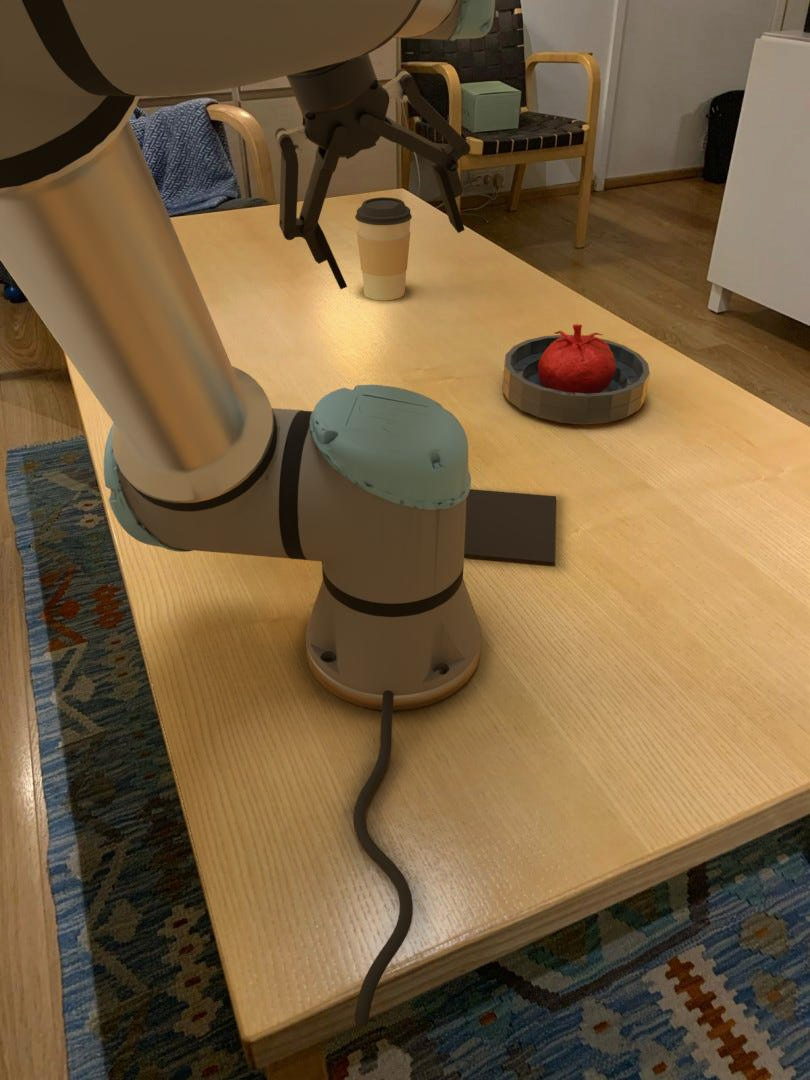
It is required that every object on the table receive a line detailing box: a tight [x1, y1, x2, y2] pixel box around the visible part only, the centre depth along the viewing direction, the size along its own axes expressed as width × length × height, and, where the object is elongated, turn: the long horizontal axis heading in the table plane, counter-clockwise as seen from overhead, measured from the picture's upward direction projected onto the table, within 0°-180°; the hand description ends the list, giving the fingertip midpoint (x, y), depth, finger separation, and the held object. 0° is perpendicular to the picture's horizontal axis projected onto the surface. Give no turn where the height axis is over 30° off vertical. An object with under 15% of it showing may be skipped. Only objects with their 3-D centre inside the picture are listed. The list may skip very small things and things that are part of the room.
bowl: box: [502, 334, 651, 425], centre depth 116 cm, size 19×19×4 cm
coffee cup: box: [354, 196, 413, 301], centre depth 142 cm, size 9×9×15 cm
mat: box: [464, 488, 557, 566], centre depth 92 cm, size 12×12×1 cm
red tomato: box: [538, 323, 616, 394], centre depth 114 cm, size 10×10×9 cm
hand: (399, 254), depth 93 cm, fingers open, 13 cm apart
